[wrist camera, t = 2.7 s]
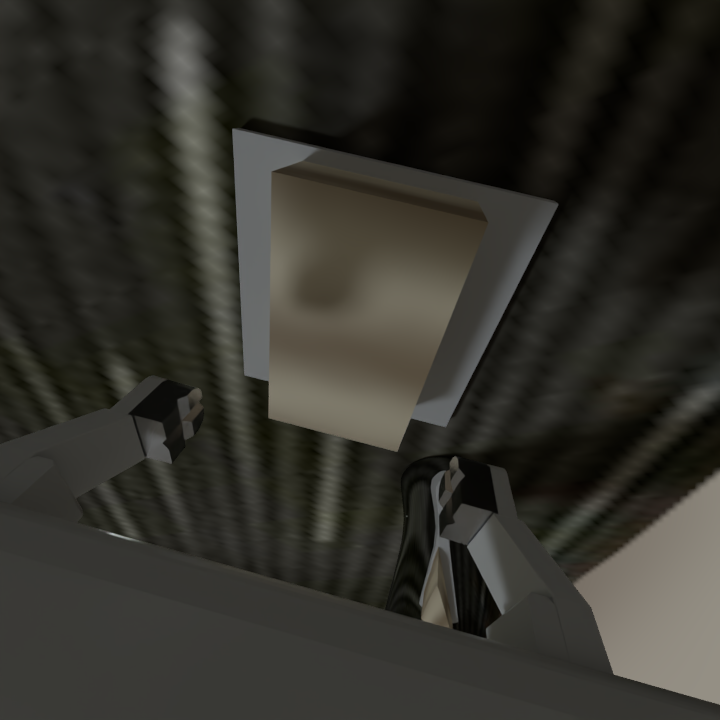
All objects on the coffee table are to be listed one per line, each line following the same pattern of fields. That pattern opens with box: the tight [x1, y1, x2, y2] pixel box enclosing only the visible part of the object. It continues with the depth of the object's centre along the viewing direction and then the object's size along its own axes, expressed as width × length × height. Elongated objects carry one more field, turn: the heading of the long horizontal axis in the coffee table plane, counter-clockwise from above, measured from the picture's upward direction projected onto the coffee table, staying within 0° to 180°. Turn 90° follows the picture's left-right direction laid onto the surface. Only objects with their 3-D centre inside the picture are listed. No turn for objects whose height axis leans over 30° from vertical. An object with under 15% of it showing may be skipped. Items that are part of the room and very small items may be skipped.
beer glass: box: [385, 457, 502, 639], centre depth 17 cm, size 7×7×15 cm
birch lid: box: [269, 161, 489, 452], centre depth 14 cm, size 11×7×3 cm, turn 169°
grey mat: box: [232, 128, 558, 427], centre depth 16 cm, size 12×12×1 cm
